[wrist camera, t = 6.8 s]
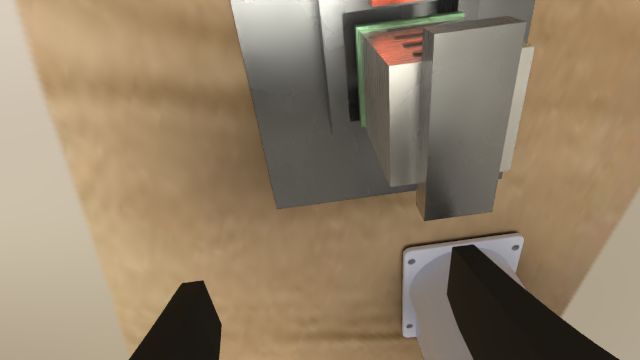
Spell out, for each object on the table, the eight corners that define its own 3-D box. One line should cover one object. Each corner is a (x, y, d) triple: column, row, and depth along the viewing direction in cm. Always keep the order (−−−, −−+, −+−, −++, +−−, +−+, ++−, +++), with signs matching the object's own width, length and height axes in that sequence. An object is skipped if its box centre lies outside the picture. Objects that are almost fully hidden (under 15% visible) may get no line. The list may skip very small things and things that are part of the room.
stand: (494, 171, 22) (530, 210, 19) (277, 200, 22) (275, 245, 18) (561, -210, 13) (650, -260, 10) (197, -161, 13) (168, -195, 10)
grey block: (449, 125, 16) (522, 207, 11) (360, 137, 16) (393, 225, 11) (460, -12, 13) (568, 16, 8) (352, 3, 13) (393, 40, 8)
